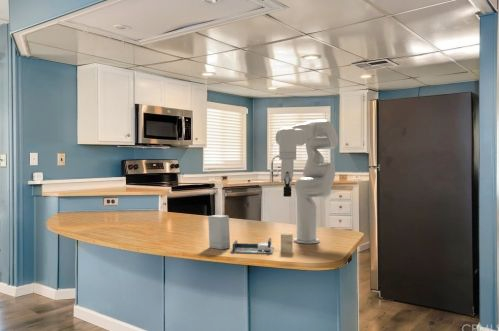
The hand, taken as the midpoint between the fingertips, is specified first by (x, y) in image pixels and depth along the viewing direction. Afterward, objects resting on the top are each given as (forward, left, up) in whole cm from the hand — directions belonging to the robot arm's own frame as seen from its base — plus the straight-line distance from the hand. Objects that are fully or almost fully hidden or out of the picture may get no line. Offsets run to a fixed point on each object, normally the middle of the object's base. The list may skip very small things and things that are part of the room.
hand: (287, 195), depth 187 cm
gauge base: (0, -16, -25) cm, 30 cm away
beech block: (0, 0, -25) cm, 25 cm away
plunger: (+1, -10, -24) cm, 26 cm away
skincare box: (-4, -31, -25) cm, 40 cm away
